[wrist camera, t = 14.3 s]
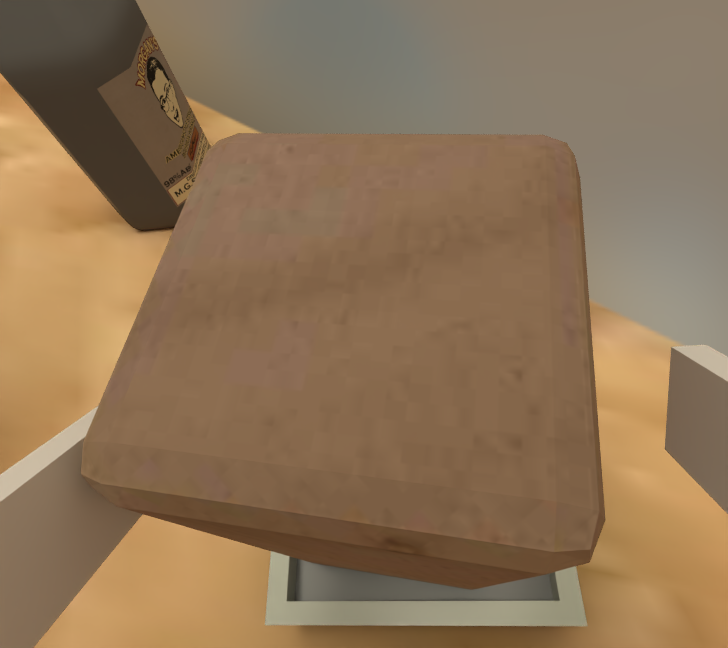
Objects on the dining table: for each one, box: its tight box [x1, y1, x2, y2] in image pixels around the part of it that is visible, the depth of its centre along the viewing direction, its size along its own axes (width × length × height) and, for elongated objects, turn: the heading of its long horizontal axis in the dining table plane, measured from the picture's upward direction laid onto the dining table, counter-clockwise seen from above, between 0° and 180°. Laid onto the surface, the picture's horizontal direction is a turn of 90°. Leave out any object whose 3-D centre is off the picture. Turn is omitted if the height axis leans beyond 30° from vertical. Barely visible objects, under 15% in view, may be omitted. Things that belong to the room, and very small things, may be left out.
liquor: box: [0, 0, 211, 230], centre depth 35 cm, size 9×9×30 cm
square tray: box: [265, 551, 587, 626], centre depth 29 cm, size 15×15×6 cm
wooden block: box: [81, 133, 605, 590], centre depth 19 cm, size 10×10×20 cm
